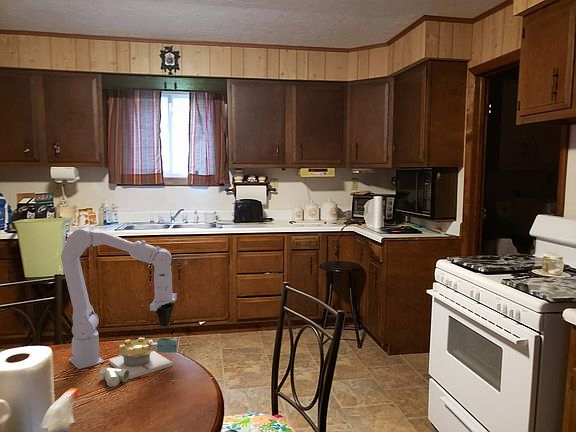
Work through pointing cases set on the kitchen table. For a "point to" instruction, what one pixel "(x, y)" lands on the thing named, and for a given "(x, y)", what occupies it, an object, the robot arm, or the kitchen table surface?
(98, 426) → the kitchen table surface
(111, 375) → the pipe fitting
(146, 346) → the gold gear
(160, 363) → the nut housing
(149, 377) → the kitchen table surface
